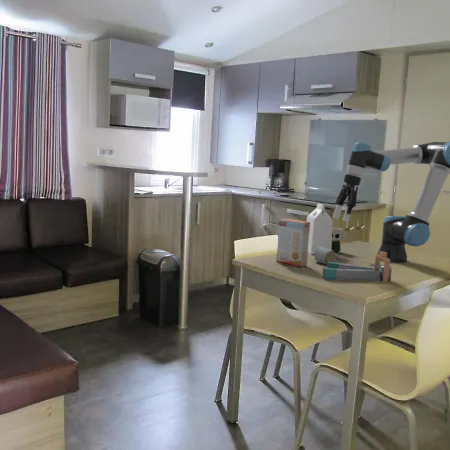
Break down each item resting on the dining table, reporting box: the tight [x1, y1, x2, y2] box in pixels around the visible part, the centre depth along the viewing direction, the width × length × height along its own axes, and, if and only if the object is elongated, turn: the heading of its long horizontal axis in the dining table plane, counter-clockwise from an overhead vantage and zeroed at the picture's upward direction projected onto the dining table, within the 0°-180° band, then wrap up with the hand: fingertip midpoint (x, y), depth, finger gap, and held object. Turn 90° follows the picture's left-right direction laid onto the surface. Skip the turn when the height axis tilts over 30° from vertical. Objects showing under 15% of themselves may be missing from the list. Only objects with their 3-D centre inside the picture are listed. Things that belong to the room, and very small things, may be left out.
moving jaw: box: [326, 262, 392, 270], centre depth 228 cm, size 27×7×6 cm, turn 73°
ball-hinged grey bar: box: [322, 267, 393, 283], centre depth 222 cm, size 30×5×5 cm, turn 98°
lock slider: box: [373, 252, 391, 283], centre depth 224 cm, size 2×10×12 cm, turn 8°
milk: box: [305, 203, 333, 255], centre depth 277 cm, size 12×12×26 cm
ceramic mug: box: [313, 247, 338, 266], centre depth 251 cm, size 11×8×8 cm
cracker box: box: [276, 218, 310, 268], centre depth 245 cm, size 14×6×21 cm, turn 47°
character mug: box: [331, 226, 347, 253], centre depth 283 cm, size 11×7×13 cm, turn 62°
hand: (340, 219), depth 242 cm, fingers open, 13 cm apart
